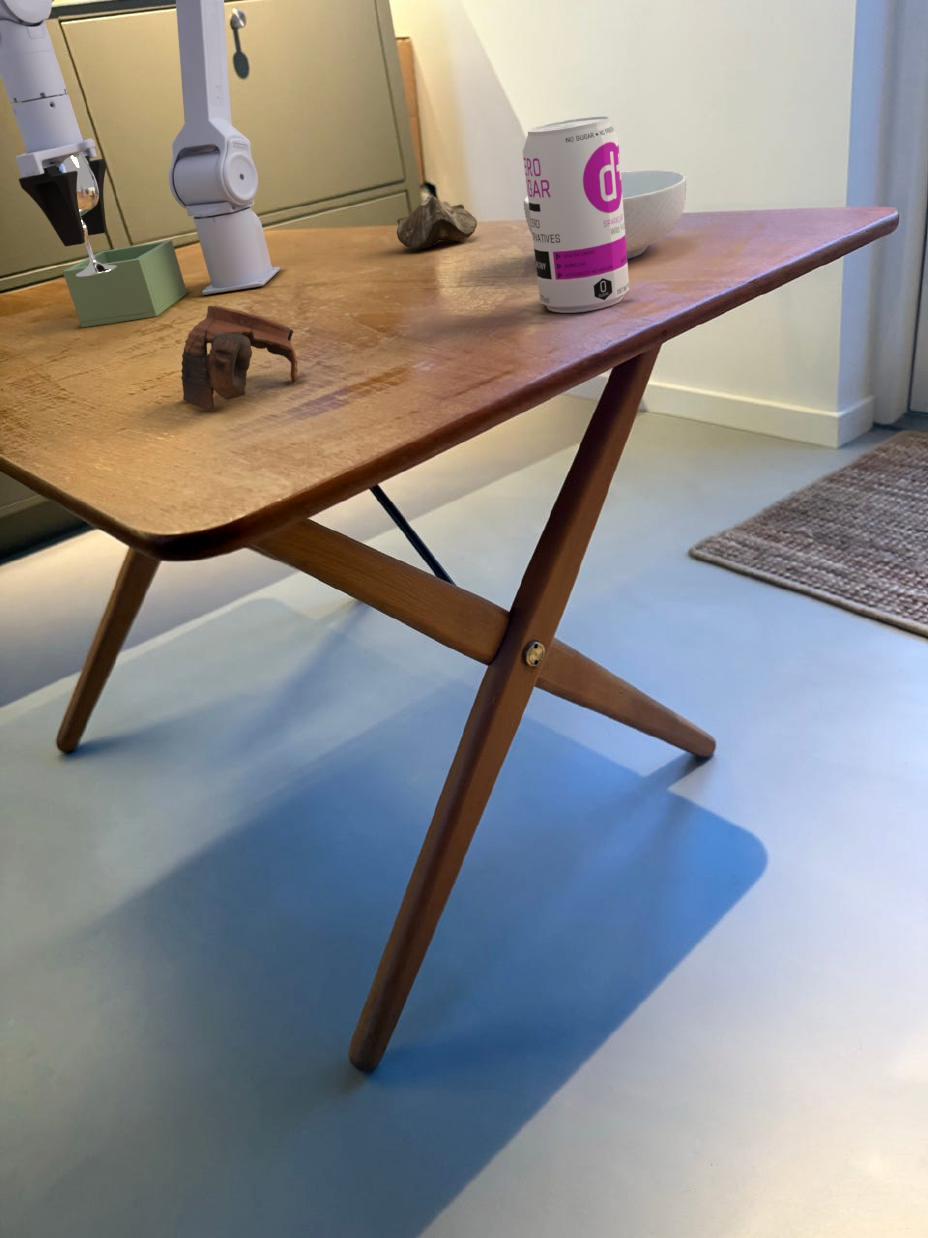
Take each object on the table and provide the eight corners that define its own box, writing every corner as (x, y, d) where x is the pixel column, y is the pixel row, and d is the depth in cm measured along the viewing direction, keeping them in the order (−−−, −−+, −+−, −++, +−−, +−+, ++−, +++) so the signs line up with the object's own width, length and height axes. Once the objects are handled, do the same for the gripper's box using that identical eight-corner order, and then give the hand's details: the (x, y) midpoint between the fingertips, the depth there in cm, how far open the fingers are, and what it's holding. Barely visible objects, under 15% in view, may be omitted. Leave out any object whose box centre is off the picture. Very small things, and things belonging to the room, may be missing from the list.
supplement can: (647, 291, 93) (635, 111, 85) (593, 317, 88) (576, 129, 81) (577, 288, 98) (560, 119, 91) (523, 312, 93) (500, 135, 86)
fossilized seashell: (476, 212, 133) (405, 237, 135) (461, 171, 127) (387, 197, 129) (484, 251, 129) (411, 276, 131) (468, 210, 124) (392, 237, 126)
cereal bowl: (501, 276, 108) (492, 206, 104) (577, 239, 119) (571, 175, 116) (646, 274, 99) (641, 197, 95) (713, 234, 110) (711, 164, 106)
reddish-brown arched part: (179, 397, 89) (199, 303, 87) (285, 425, 91) (306, 333, 89) (162, 400, 77) (184, 291, 76) (284, 432, 79) (308, 326, 78)
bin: (117, 303, 131) (100, 251, 127) (187, 293, 129) (172, 239, 126) (81, 327, 121) (62, 271, 118) (156, 316, 119) (139, 259, 116)
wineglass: (107, 274, 107) (67, 152, 101) (60, 280, 109) (18, 160, 103) (132, 262, 112) (95, 144, 106) (86, 268, 113) (48, 153, 107)
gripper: (45, 97, 95) (94, 246, 102) (103, 88, 107) (143, 221, 114) (-23, 110, 96) (30, 257, 103) (42, 99, 108) (86, 231, 115)
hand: (86, 239), depth 109 cm, fingers closed on wineglass, 5 cm apart
